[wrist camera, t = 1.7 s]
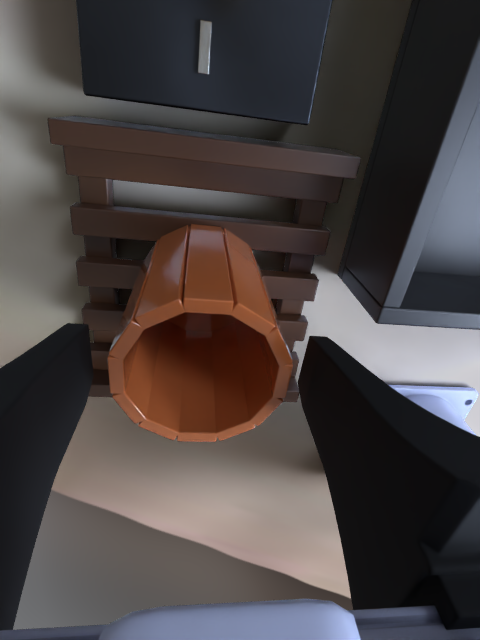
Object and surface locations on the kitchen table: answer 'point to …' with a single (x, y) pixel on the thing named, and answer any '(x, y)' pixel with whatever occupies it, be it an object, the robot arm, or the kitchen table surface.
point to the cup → (199, 340)
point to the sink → (424, 179)
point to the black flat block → (206, 54)
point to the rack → (201, 173)
